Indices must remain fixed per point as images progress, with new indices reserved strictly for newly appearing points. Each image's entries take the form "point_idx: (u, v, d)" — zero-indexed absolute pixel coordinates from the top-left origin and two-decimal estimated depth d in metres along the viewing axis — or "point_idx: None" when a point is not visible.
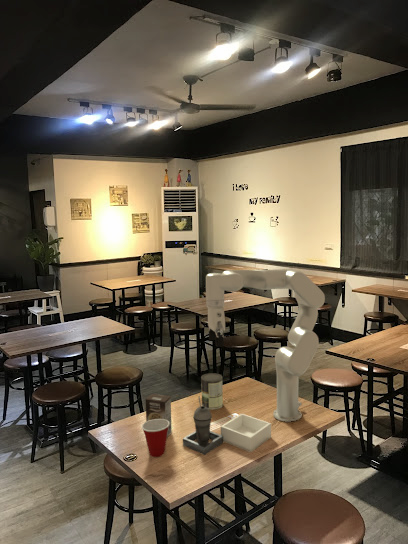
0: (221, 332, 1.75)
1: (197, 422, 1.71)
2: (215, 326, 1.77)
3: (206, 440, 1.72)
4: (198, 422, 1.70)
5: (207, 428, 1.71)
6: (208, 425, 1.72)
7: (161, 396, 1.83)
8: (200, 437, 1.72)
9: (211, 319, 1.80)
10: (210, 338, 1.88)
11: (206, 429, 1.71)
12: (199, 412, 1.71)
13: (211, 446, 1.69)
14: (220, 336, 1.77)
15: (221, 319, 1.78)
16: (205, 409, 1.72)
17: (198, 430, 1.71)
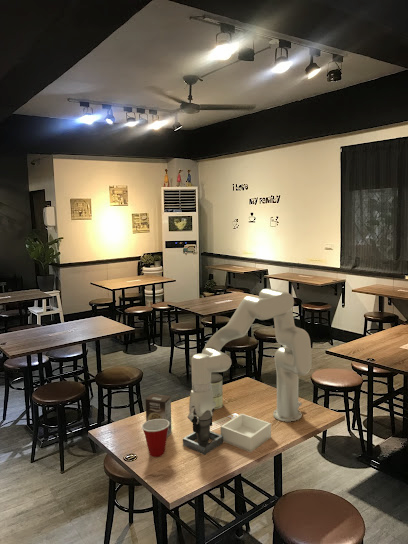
0: None
1: None
2: None
3: (206, 440, 1.72)
4: None
5: (207, 428, 1.71)
6: (208, 425, 1.72)
7: (161, 396, 1.83)
8: (200, 437, 1.72)
9: (209, 400, 1.72)
10: None
11: (206, 429, 1.71)
12: None
13: (211, 446, 1.69)
14: None
15: None
16: None
17: None
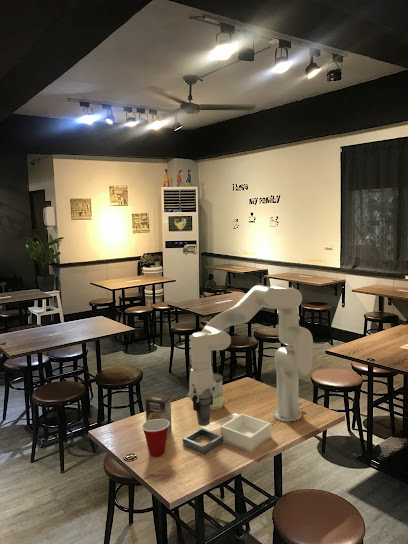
0: None
1: None
2: None
3: (207, 419, 1.71)
4: None
5: (207, 407, 1.70)
6: (208, 404, 1.71)
7: (161, 396, 1.83)
8: (201, 416, 1.71)
9: (209, 379, 1.71)
10: None
11: (206, 408, 1.70)
12: None
13: (211, 446, 1.69)
14: None
15: None
16: None
17: None
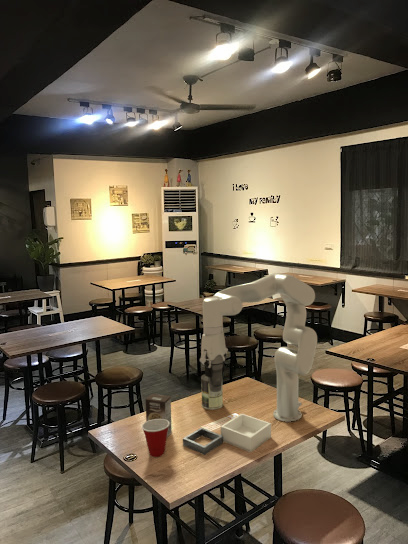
0: None
1: None
2: None
3: (218, 385, 1.70)
4: None
5: (219, 372, 1.70)
6: (220, 369, 1.70)
7: (161, 396, 1.83)
8: (212, 382, 1.70)
9: (221, 345, 1.70)
10: None
11: (218, 373, 1.69)
12: None
13: (211, 446, 1.69)
14: None
15: None
16: None
17: None
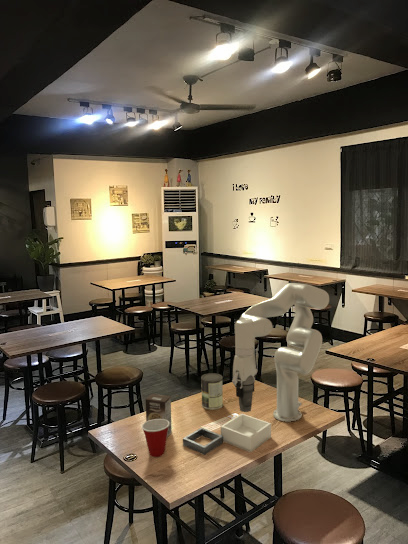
0: None
1: None
2: None
3: (249, 405, 1.74)
4: (242, 387, 1.72)
5: (250, 393, 1.73)
6: (251, 390, 1.73)
7: (161, 396, 1.83)
8: (243, 402, 1.73)
9: (252, 366, 1.74)
10: None
11: (249, 394, 1.73)
12: None
13: (211, 446, 1.69)
14: None
15: None
16: None
17: None
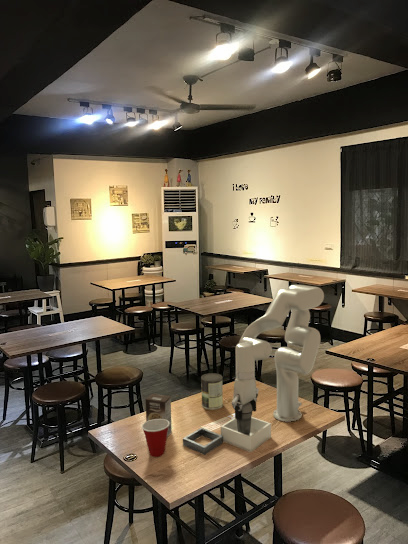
0: None
1: None
2: None
3: (247, 433, 1.75)
4: None
5: (249, 421, 1.74)
6: (250, 418, 1.74)
7: (161, 396, 1.83)
8: (242, 430, 1.74)
9: (253, 389, 1.75)
10: None
11: (248, 422, 1.74)
12: None
13: (211, 446, 1.69)
14: None
15: None
16: None
17: (240, 423, 1.74)
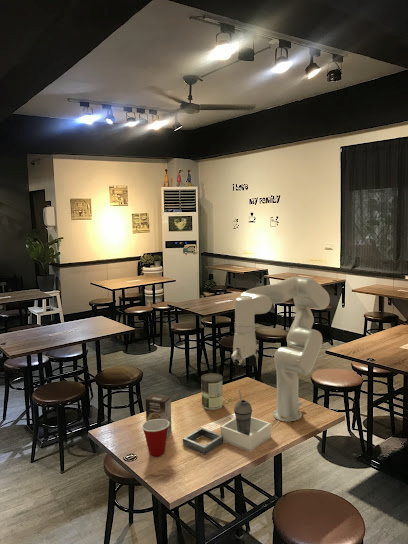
0: None
1: (238, 416, 1.73)
2: None
3: (247, 433, 1.75)
4: (239, 416, 1.73)
5: (248, 421, 1.74)
6: (249, 418, 1.74)
7: (161, 396, 1.83)
8: (241, 430, 1.74)
9: (253, 343, 1.73)
10: None
11: (247, 422, 1.74)
12: (240, 405, 1.73)
13: (211, 446, 1.69)
14: None
15: None
16: (246, 403, 1.74)
17: (239, 423, 1.74)
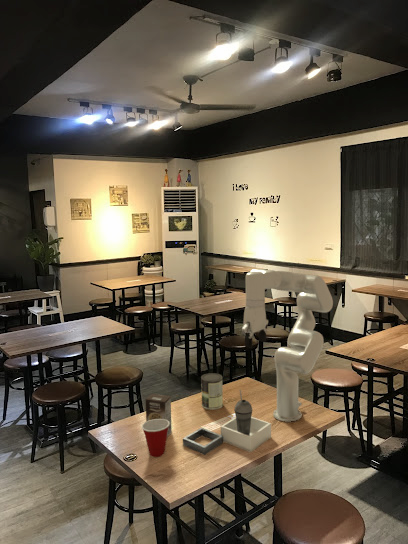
0: None
1: (239, 415, 1.73)
2: None
3: (247, 433, 1.75)
4: (240, 415, 1.73)
5: (248, 421, 1.74)
6: (249, 418, 1.74)
7: (161, 396, 1.83)
8: (241, 430, 1.74)
9: (263, 318, 1.75)
10: None
11: (247, 422, 1.74)
12: (240, 405, 1.73)
13: (211, 446, 1.69)
14: None
15: None
16: (246, 402, 1.74)
17: (239, 423, 1.74)
